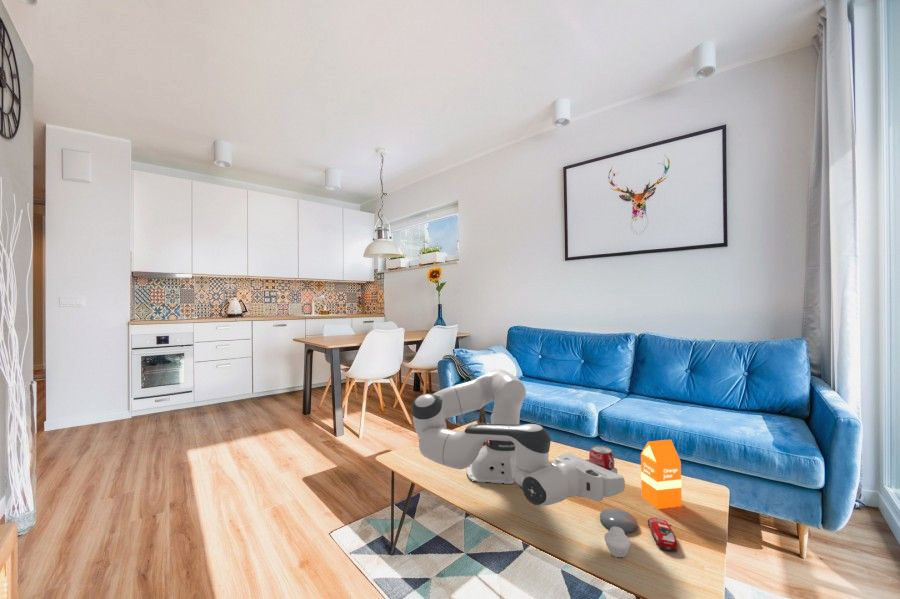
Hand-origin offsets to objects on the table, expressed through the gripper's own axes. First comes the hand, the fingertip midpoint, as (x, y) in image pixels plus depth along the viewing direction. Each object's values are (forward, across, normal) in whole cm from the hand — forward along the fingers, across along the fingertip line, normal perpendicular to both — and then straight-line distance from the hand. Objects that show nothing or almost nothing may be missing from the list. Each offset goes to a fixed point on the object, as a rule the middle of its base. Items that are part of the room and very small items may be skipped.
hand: (605, 466), depth 111 cm
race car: (+7, +13, -17) cm, 23 cm away
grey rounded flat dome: (+3, +2, -16) cm, 17 cm away
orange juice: (+25, +2, -16) cm, 30 cm away
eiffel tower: (+7, -72, -17) cm, 74 cm away
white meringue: (-10, +11, -17) cm, 22 cm away
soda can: (-1, 0, -7) cm, 7 cm away
